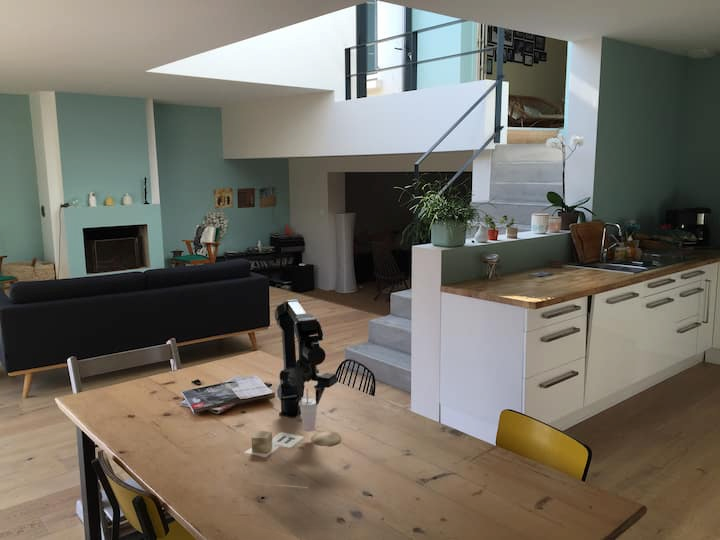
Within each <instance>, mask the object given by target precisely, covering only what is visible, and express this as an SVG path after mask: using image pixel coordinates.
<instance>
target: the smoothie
mask: <svg viewBox="0 0 720 540" xmlns="http://www.w3.org/2000/svg"><path fill="white" fill-rule="evenodd" d="M305 391H306V392H305V393H306V397H305V398H304V397H303V398H302V399H301V400H300V401H299V406H300V410H301V413H300V416H301V423H302V429H303V431H304V432H307V433H309V432H310V433H311V432H314V431H315V429H316V419H317V412H318V411H317V410H318V405H319V403H318V404H316V397H315V398H314V397H309V388H306V389H305Z"/></svg>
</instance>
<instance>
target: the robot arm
mask: <svg viewBox="0 0 720 540" xmlns="http://www.w3.org/2000/svg"><path fill="white" fill-rule="evenodd" d="M274 319H275V322H276V325H277V326H278V328H279V330H280V331H281V338H282V339H281V340H282V341H281V342H282V358H283V369H282V370H281V371H280V372H279V374H278V375H279V381H280V383H279V384H278V387H277V390H276V393H277V398H278V399H279V401H280V409H281V410H280V412H279V413H278V415H279V416H284V417H289V418H295V417H297V416H298V415H299V414H301V410H300V406H299V401H300V400H301V399H304V393H305V384H306V383H309V382H310V381H314V382H316V384H315V385H314V386H313V388H314V390H315V399H316V404H318V405H319V403H320V401H321V399H322V396H323V393H324V391H325V389H326V388H327V389H328V388H331V387H333V386H334V385H336V384H337V383H338V376H337V374H335V373H330V372H325V373H324V374H322V375H320V374H319V371H320V369H318V367H317V366H319V365H321V364H322V363H324V362H325V359H326V357H327V355H326V352H325V350H324V348H322V347H321V346H320V343H319V342H321V341H324V338H323V337H324V332H323V329H322V326H321V323H320V321H319V319H317V317H316V316H314V315H313V314H308V313H307V312H306V311H305V309H304V308H303V307H302V305H301V304H300V300H299V299H295V298H294V299H286V300H284V301H283V303H281V304H279V305H277V306H276V307H275V310H274ZM296 340H297V342H298V343H297V345H298V346H297V347H298V348H297V349H298V359H297V353H296ZM318 374H319V375H318Z"/></svg>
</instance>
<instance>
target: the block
mask: <svg viewBox="0 0 720 540" xmlns="http://www.w3.org/2000/svg"><path fill="white" fill-rule="evenodd" d="M272 438H273V432H272V431H266V430H265V431H264V430H256V431H255V433H254V434H253V435H252V436H251V447H252V453H266V454H267V453H268V452H269V450H270V449H271V448H272V445H273V444H272Z"/></svg>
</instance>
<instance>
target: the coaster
mask: <svg viewBox="0 0 720 540" xmlns="http://www.w3.org/2000/svg"><path fill="white" fill-rule="evenodd" d="M310 441H311V443H312V444H314V445H317V446H322V447H323V446H324V447H325V446H327V447H331V446H335V445H338V444H339V443H340V442H341V441H342V435H340V434H339V433H337V432H333V431H322V432H321V431H320V432H317V433H315V434H313V435H311V437H310Z"/></svg>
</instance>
